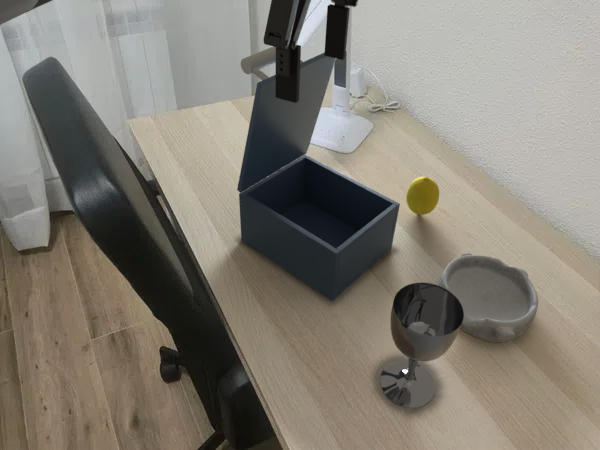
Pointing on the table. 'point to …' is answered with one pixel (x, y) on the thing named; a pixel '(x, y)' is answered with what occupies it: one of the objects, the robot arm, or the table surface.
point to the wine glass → (419, 340)
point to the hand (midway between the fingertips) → (312, 76)
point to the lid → (281, 116)
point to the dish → (491, 296)
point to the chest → (318, 224)
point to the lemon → (422, 195)
